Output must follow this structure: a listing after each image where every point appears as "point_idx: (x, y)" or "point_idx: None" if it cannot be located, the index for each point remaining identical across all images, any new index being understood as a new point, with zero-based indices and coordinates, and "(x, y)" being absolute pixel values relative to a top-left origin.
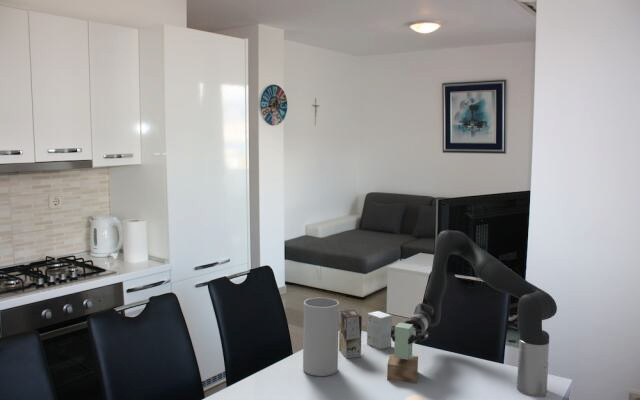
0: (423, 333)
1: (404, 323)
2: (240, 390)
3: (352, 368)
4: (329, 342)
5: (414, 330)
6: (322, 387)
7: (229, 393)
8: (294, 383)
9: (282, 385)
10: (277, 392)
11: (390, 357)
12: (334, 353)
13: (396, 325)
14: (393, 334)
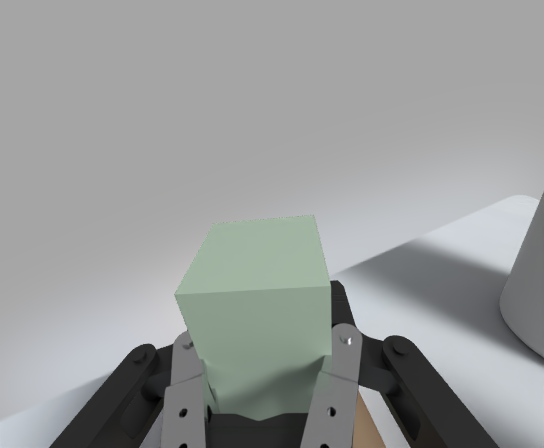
0: (83, 419)
1: (268, 285)
2: (520, 205)
3: (536, 419)
4: (538, 207)
5: (174, 414)
6: (434, 260)
7: (515, 197)
8: (498, 249)
9: (502, 236)
10: (470, 220)
11: (365, 420)
12: (529, 264)
13: (314, 228)
14: (348, 306)
